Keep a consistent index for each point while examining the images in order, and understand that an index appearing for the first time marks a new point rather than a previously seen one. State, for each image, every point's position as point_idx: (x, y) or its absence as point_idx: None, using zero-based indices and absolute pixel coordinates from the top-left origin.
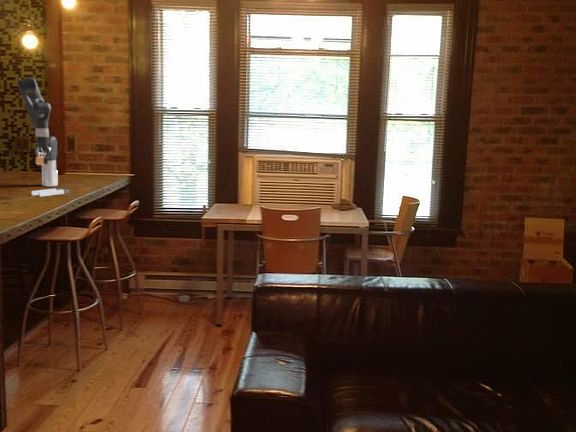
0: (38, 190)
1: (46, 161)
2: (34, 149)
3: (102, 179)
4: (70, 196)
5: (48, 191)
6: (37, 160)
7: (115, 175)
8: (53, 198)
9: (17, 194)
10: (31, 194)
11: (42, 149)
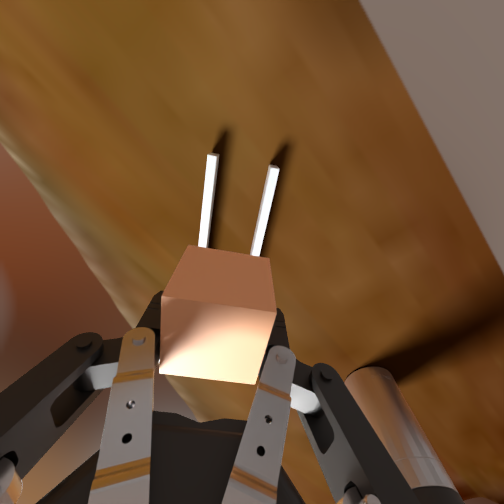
0: (265, 210)
1: (148, 309)
2: (397, 483)
3: (300, 488)
4: (126, 244)
5: (204, 212)
6: (244, 280)
7: None
8: (130, 154)
9: (358, 156)
10: (276, 166)
11: (97, 479)
